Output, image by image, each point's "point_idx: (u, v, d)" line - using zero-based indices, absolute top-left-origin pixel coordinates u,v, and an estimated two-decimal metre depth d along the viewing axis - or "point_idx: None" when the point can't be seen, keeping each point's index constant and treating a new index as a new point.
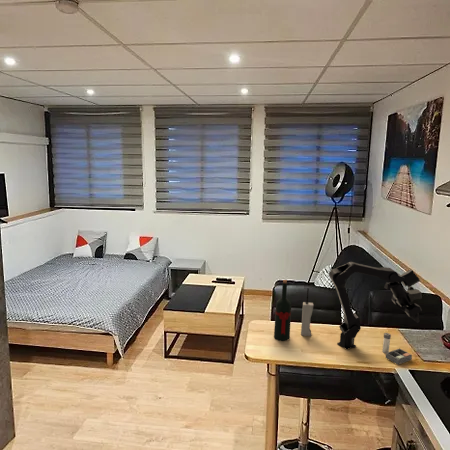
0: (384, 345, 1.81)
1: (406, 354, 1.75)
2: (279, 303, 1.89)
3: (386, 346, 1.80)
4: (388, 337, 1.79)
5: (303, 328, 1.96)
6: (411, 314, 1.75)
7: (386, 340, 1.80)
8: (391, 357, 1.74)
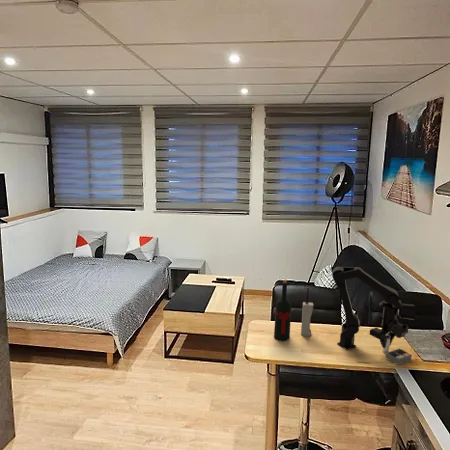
0: None
1: (406, 354, 1.75)
2: (279, 303, 1.89)
3: (386, 346, 1.80)
4: None
5: (303, 328, 1.96)
6: (370, 332, 1.77)
7: None
8: (391, 357, 1.74)
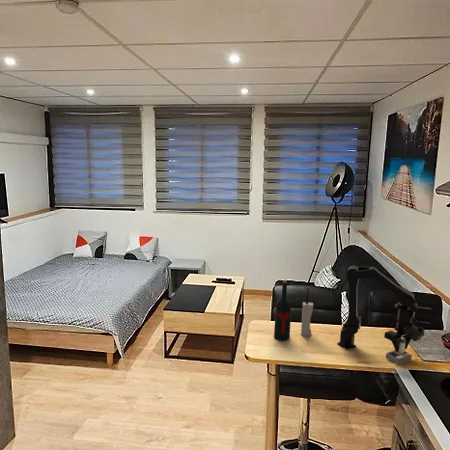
0: (399, 349, 1.76)
1: (406, 354, 1.75)
2: (279, 303, 1.89)
3: (401, 350, 1.76)
4: (403, 341, 1.75)
5: (303, 328, 1.96)
6: (385, 335, 1.73)
7: (401, 345, 1.75)
8: (391, 357, 1.74)
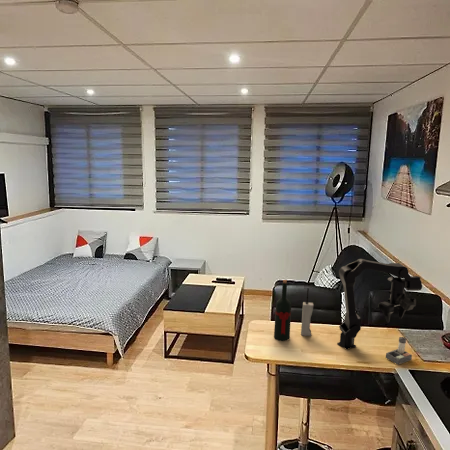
0: (399, 349, 1.76)
1: (406, 354, 1.75)
2: (279, 303, 1.89)
3: (401, 350, 1.76)
4: (403, 341, 1.75)
5: (303, 328, 1.96)
6: (379, 306, 1.82)
7: (402, 345, 1.75)
8: (391, 357, 1.74)
